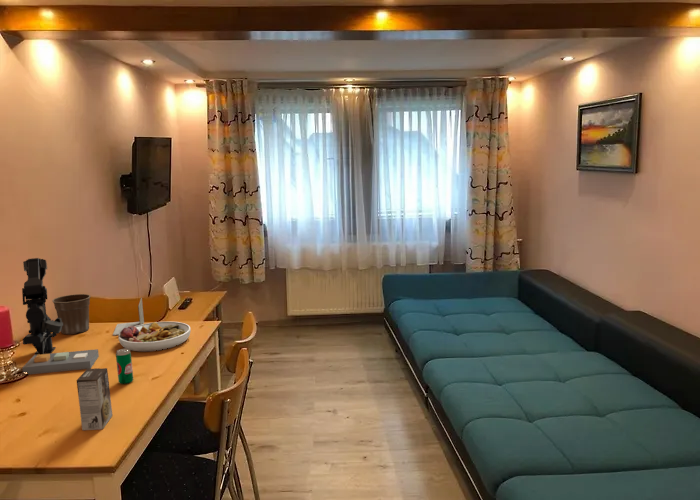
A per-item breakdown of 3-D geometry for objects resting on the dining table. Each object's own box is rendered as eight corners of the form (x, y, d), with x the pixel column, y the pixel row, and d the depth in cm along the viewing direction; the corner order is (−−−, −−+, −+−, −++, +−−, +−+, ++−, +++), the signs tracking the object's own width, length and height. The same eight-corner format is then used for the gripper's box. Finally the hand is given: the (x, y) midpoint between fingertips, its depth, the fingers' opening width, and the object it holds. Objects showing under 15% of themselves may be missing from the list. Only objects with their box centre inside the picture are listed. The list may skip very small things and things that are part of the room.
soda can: (128, 385, 203) (125, 353, 201) (115, 384, 204) (112, 352, 202) (136, 379, 208) (133, 348, 206) (123, 378, 209) (120, 347, 207)
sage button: (57, 360, 226) (56, 353, 226) (69, 359, 227) (68, 351, 226) (54, 364, 222) (53, 356, 221) (66, 363, 223) (65, 355, 222)
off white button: (76, 360, 228) (76, 353, 227) (88, 359, 229) (87, 352, 228) (73, 364, 223) (73, 357, 223) (85, 363, 224) (85, 356, 224)
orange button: (38, 362, 225) (37, 354, 224) (50, 360, 226) (49, 353, 225) (34, 365, 220) (34, 358, 220) (47, 364, 221) (46, 357, 221)
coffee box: (92, 417, 179) (86, 368, 176) (113, 415, 179) (108, 367, 177) (81, 430, 170) (75, 379, 167) (103, 429, 170) (97, 378, 168)
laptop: (117, 325, 277) (114, 299, 275) (144, 322, 281) (142, 297, 279) (112, 336, 260) (109, 308, 258) (141, 333, 264) (139, 306, 261)
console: (35, 362, 229) (34, 354, 229) (98, 356, 234) (98, 349, 233) (23, 374, 216) (22, 367, 215) (90, 368, 220) (89, 361, 220)
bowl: (189, 328, 269) (188, 312, 268) (193, 348, 241) (191, 330, 240) (121, 336, 260) (120, 319, 259) (117, 358, 232) (115, 339, 231)
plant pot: (64, 326, 277) (60, 294, 274) (98, 324, 278) (95, 292, 276) (50, 337, 261) (46, 303, 258) (87, 335, 262) (83, 301, 260)
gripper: (52, 320, 212) (57, 360, 215) (66, 307, 230) (70, 344, 233) (19, 323, 210) (24, 363, 213) (36, 310, 228) (40, 347, 231)
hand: (41, 354), depth 222 cm, fingers closed
